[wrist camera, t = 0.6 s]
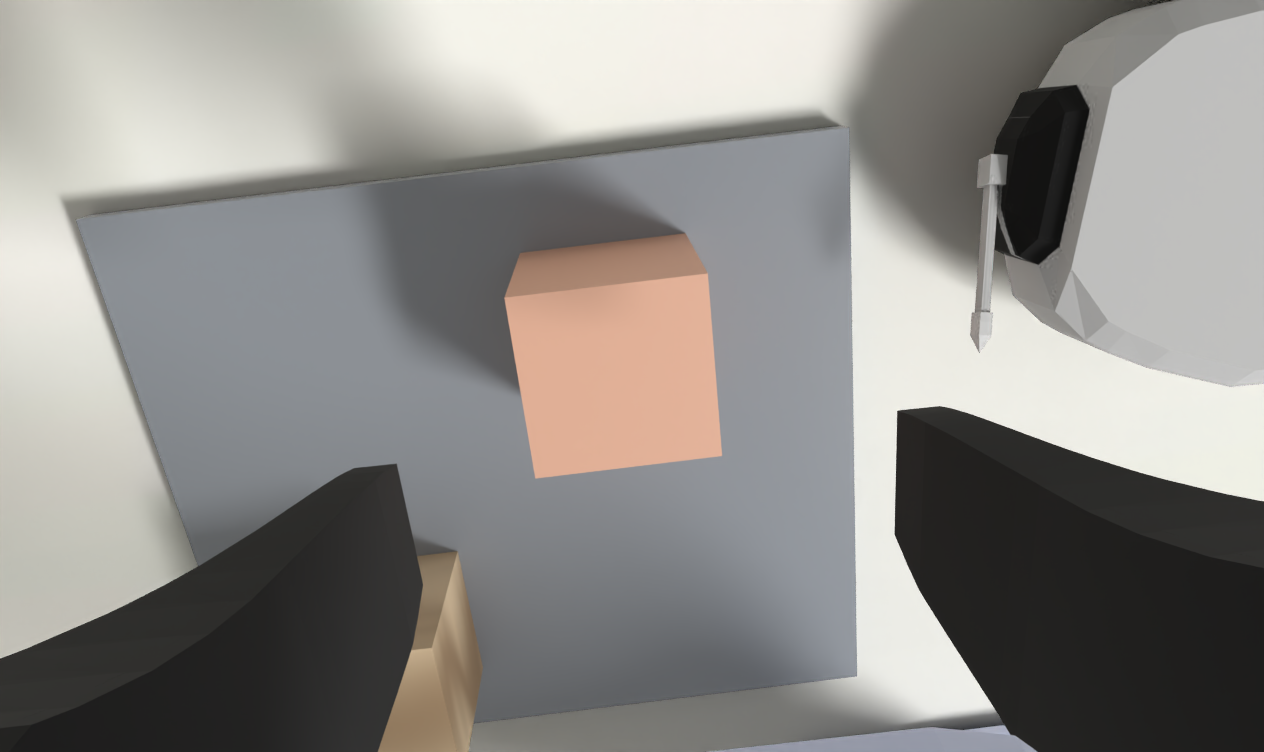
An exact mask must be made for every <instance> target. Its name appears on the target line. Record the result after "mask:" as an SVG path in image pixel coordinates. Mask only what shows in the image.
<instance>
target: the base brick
mask: <svg viewBox="0 0 1264 752" xmlns="http://www.w3.org/2000/svg"><path fill="white" fill-rule="evenodd" d="M504 299H505V304H506V310H507V316H508V322H509V328H510V333H511V339H512V345H513V351H514V357H515V363H516V368H517V374H518V380H519V386H520V392H521V398H522V403H523V409H524V415H525V421H526V427H527V433H528V438H529V444H530V450H531V456H532V462H533V468H534V473H535V479H536V478H544V477H553V476H561V475H569V474H577V473H586V472H594V471H602V470H610V469H619V468H627V467H635V466H643V465H652V464H660V463H668V462H676V461H685V460H693V459H701V458H710V457H718V456H722V448H721V435H720V422H719V409H718V397H717V384H716V371H715V358H714V346H713V333H712V320H711V307H710V295H709V282H708V273H707V271H706V269H705V267H704V266H703V264H702V262H701V260H700V258H699V257H698V255H697V253H696V251H695V249H694V248H693V246H692V244H691V242H690V240H689V239H688V237H687V235H686V233H683V234H675V235H666V236H658V237H650V238H641V239H633V240H624V241H616V242H608V243H599V244H591V245H582V246H574V247H566V248H557V249H549V250H541V251H532V252H524V253H520V255H519V258H518V261H517V263H516V266H515V269H514V272H513V275H512V278H511V280H510V283H509V286H508V289H507V292H506V295H505V297H504Z"/></svg>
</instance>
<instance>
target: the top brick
mask: <svg viewBox="0 0 1264 752" xmlns="http://www.w3.org/2000/svg"><path fill="white" fill-rule="evenodd" d="M417 558H418V563H419V568H420V572H421V577H422V581H423V590H422V596H421V602H420V609H419V615H418V621H417V626H416V631H415V637H414V642H413V646H412V649H411V653H410V656H409V659H408V662H407V665H406V668H405V672H404V675H403V678H402V681H401V684H400V687H399V690H398V693H397V696H396V699H395V702H394V705H393V708H392V711H391V714H390V717H389V720H388V723H387V726H386V729H385V732H384V735H383V738H382V741H381V744H380V747H379V750H378V752H468V751H469V745H470V740H471V734H472V728H473V722H474V717H475V711H476V705H477V699H478V694H479V688H480V682H481V676H482V670H483V665H482V661H481V656H480V652H479V647H478V642H477V638H476V633H475V629H474V624H473V619H472V615H471V610H470V606H469V601H468V596H467V592H466V587H465V583H464V578H463V574H462V569H461V564H460V560H459V555H458V551H455V552H447V553H439V554H431V555H422V556H417Z"/></svg>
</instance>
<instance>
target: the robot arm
mask: <svg viewBox="0 0 1264 752" xmlns="http://www.w3.org/2000/svg"><path fill="white" fill-rule="evenodd" d="M895 536H896V539H897V541H898V543H899V546H900V548H901V550H902V553H903V555H904V558H905V560H906V562H907V565H908V567H909V569H910V571H911V573H912V575H913V578H914V580H915V582H916V584H917V586H918V588H919V590H920V592H921V594H922V595H923V597H924V599H925V600H926V602H927V604H928V605H929V607H930V608H931V610H932V611H933V613H934V615H935V616H936V618H937V619H938V621H939V623H940V624H941V626H942V627H943V629H944V631H945V632H946V634H947V635H948V637H949V638H950V640H951V641H952V643H953V645H954V646H955V648H956V649H957V651H958V652H959V654H960V655H961V657H962V659H963V660H964V662H965V663H966V665H967V666H968V668H969V669H970V671H971V673H972V674H973V676H974V677H975V679H976V680H977V682H978V683H979V685H980V687H981V688H982V690H983V691H984V693H985V694H986V696H987V697H988V699H989V700H990V702H991V704H992V705H993V707H994V708H995V710H996V711H997V713H998V714H999V716H1000V718H1001V720H1002V721H1003V723H1004V725H1000V726H992V727H984V728H976V729H968V730H956V729H946V728H936V727H928V728H918V729H909V730H900V731H890V732H881V733H872V734H863V735H854V736H845V737H836V738H826V739H817V740H808V741H799V742H790V743H781V744H772V745H762V746H753V747H744V748H735V749H726V750H717V751H708V752H1264V502H1263V501H1257V500H1252V499H1247V498H1242V497H1237V496H1232V495H1227V494H1223V493H1218V492H1214V491H1210V490H1206V489H1202V488H1197V487H1193V486H1189V485H1185V484H1181V483H1177V482H1173V481H1168V480H1164V479H1161V478H1157V477H1153V476H1150V475H1146V474H1143V473H1139V472H1136V471H1132V470H1129V469H1126V468H1123V467H1120V466H1116V465H1113V464H1110V463H1107V462H1104V461H1100V460H1097V459H1094V458H1091V457H1088V456H1085V455H1082V454H1079V453H1076V452H1073V451H1070V450H1068V449H1065V448H1062V447H1059V446H1056V445H1053V444H1051V443H1048V442H1045V441H1042V440H1040V439H1037V438H1034V437H1032V436H1029V435H1026V434H1023V433H1021V432H1018V431H1015V430H1013V429H1010V428H1007V427H1005V426H1002V425H999V424H996V423H994V422H991V421H988V420H985V419H983V418H980V417H977V416H974V415H971V414H968V413H965V412H962V411H958V410H955V409H951V408H946V407H941V406H938V407H928V408H919V409H909V410H900V411H897V453H896V498H895ZM422 590H423V581H422V577H421V572H420V568H419V563H418V558H417V554H416V549H415V545H414V540H413V536H412V531H411V526H410V522H409V517H408V513H407V508H406V503H405V499H404V494H403V490H402V485H401V481H400V476H399V471H398V467H397V464H388V465H378V466H369V467H359V468H353V469H351V470H349V471H347V472H345V473H343V474H341V475H339V476H338V477H336V478H334V479H333V480H331V481H329V482H328V483H326V484H325V485H323V486H322V487H320V488H319V489H317V490H316V491H314V492H312V493H311V494H310V495H308V496H307V497H305V498H304V499H302V500H301V501H299V502H298V503H296V504H295V505H293V506H292V507H290V508H289V509H287V510H286V511H284V512H283V513H281V514H280V515H278V516H277V517H275V518H274V519H272V520H271V521H269V522H268V523H266V524H265V525H263V526H262V527H261V528H259V529H257V530H256V531H254V532H253V533H251V534H250V535H248V536H246V537H245V538H243V539H241V540H240V541H238V542H237V543H235V544H233V545H232V546H230V547H229V548H227V549H225V550H224V551H222V552H221V553H219V554H217V555H216V556H214V557H212V558H211V559H209V560H208V561H206V562H204V563H203V564H201V565H200V566H198V567H196V568H195V569H193V570H191V571H189V572H188V573H186V574H184V575H182V576H180V577H179V578H177V579H175V580H173V581H171V582H169V583H168V584H166V585H164V586H162V587H160V588H158V589H156V590H154V591H152V592H150V593H148V594H146V595H145V596H143V597H141V598H139V599H137V600H135V601H133V602H131V603H129V604H127V605H125V606H123V607H121V608H119V609H117V610H114V611H112V612H110V613H108V614H106V615H104V616H101V617H99V618H97V619H94V620H92V621H90V622H87V623H85V624H83V625H81V626H78V627H76V628H74V629H71V630H69V631H67V632H64V633H62V634H60V635H57V636H55V637H53V638H50V639H48V640H46V641H43V642H41V643H39V644H37V645H34V646H32V647H30V648H27V649H25V650H22V651H19V652H17V653H14V654H12V655H9V656H6V657H4V658H1V659H0V752H378V750H379V747H380V744H381V741H382V738H383V735H384V732H385V729H386V726H387V723H388V720H389V717H390V714H391V711H392V708H393V705H394V702H395V699H396V696H397V693H398V690H399V687H400V684H401V681H402V678H403V675H404V672H405V668H406V665H407V662H408V659H409V656H410V653H411V649H412V646H413V642H414V637H415V631H416V626H417V621H418V615H419V609H420V602H421V596H422Z"/></svg>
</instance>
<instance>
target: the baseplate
mask: <svg viewBox="0 0 1264 752" xmlns="http://www.w3.org/2000/svg"><path fill="white" fill-rule="evenodd" d="M76 222H77V225H78V227H79V230H80V233H81V236H82V239H83V242H84V244H85V247H86V250H87V253H88V256H89V258H90V261H91V264H92V267H93V270H94V273H95V275H96V278H97V281H98V284H99V287H100V290H101V292H102V295H103V298H104V301H105V304H106V307H107V309H108V312H109V315H110V318H111V321H112V324H113V326H114V329H115V332H116V335H117V338H118V341H119V343H120V346H121V349H122V352H123V355H124V358H125V360H126V363H127V366H128V369H129V372H130V375H131V377H132V380H133V383H134V386H135V389H136V391H137V394H138V397H139V400H140V403H141V406H142V408H143V411H144V414H145V417H146V420H147V423H148V425H149V428H150V431H151V434H152V437H153V440H154V442H155V445H156V448H157V451H158V454H159V457H160V459H161V462H162V465H163V468H164V471H165V474H166V476H167V479H168V482H169V485H170V488H171V491H172V493H173V496H174V499H175V502H176V505H177V508H178V510H179V513H180V516H181V519H182V522H183V524H184V527H185V530H186V533H187V536H188V539H189V541H190V544H191V547H192V550H193V553H194V556H195V558H196V561H197V564H198V566H200V565H201V564H203V563H204V562H206V561H208V560H209V559H211V558H212V557H214V556H216V555H217V554H219V553H221V552H222V551H224V550H225V549H227V548H229V547H230V546H232V545H233V544H235V543H237V542H238V541H240V540H241V539H243V538H245V537H246V536H248V535H250V534H251V533H253V532H254V531H256V530H257V529H259V528H261V527H262V526H263V525H265V524H266V523H268V522H269V521H271V520H272V519H274V518H275V517H277V516H278V515H280V514H281V513H283V512H284V511H286V510H287V509H289V508H290V507H292V506H293V505H295V504H296V503H298V502H299V501H301V500H302V499H304V498H305V497H307V496H308V495H310V494H311V493H312V492H314V491H316V490H317V489H319V488H320V487H322V486H323V485H325V484H326V483H328V482H329V481H331V480H333V479H334V478H336V477H338V476H339V475H341V474H343V473H345V472H347V471H349V470H351V469H353V468H359V467H369V466H378V465H388V464H397V467H398V471H399V476H400V481H401V485H402V490H403V494H404V499H405V503H406V508H407V513H408V517H409V522H410V526H411V531H412V536H413V540H414V545H415V549H416V554H417V556H422V555H431V554H439V553H447V552H455V551H458V555H459V560H460V564H461V569H462V574H463V578H464V583H465V587H466V592H467V596H468V601H469V606H470V610H471V615H472V619H473V624H474V629H475V633H476V638H477V642H478V647H479V652H480V656H481V661H482V665H483V670H482V676H481V682H480V688H479V694H478V699H477V705H476V711H475V717H474V722H473V723H480V722H488V721H497V720H505V719H513V718H521V717H529V716H537V715H545V714H554V713H562V712H570V711H578V710H586V709H594V708H602V707H611V706H619V705H627V704H635V703H643V702H651V701H659V700H668V699H676V698H684V697H692V696H700V695H708V694H716V693H725V692H733V691H741V690H749V689H757V688H765V687H773V686H782V685H790V684H798V683H806V682H814V681H822V680H830V679H839V678H847V677H855V676H857V644H856V573H855V502H854V432H853V361H852V290H851V219H850V148H849V127H845V126H835V127H826V128H818V129H809V130H801V131H792V132H784V133H775V134H767V135H759V136H750V137H742V138H733V139H725V140H716V141H708V142H700V143H691V144H683V145H674V146H666V147H657V148H649V149H641V150H632V151H624V152H615V153H607V154H598V155H590V156H582V157H573V158H565V159H556V160H548V161H539V162H531V163H523V164H514V165H506V166H497V167H489V168H480V169H472V170H464V171H455V172H447V173H438V174H430V175H421V176H413V177H405V178H396V179H388V180H379V181H371V182H362V183H354V184H346V185H337V186H329V187H320V188H312V189H303V190H295V191H287V192H278V193H270V194H261V195H253V196H244V197H236V198H228V199H219V200H211V201H202V202H194V203H185V204H177V205H169V206H160V207H152V208H143V209H135V210H126V211H118V212H110V213H101V214H93V215H88V216H85V217H82V218H78V219H76ZM683 233H686V235H687V237H688V239H689V240H690V242H691V244H692V246H693V248H694V249H695V251H696V253H697V255H698V257H699V258H700V260H701V262H702V264H703V266H704V267H705V269H706V271H707V273H708V282H709V295H710V307H711V320H712V333H713V346H714V358H715V371H716V384H717V397H718V409H719V422H720V435H721V448H722V456H718V457H710V458H701V459H693V460H685V461H676V462H668V463H660V464H652V465H643V466H635V467H627V468H619V469H610V470H602V471H594V472H586V473H577V474H569V475H561V476H553V477H544V478H536V479H535V473H534V468H533V462H532V456H531V450H530V444H529V438H528V433H527V427H526V421H525V415H524V409H523V403H522V398H521V392H520V386H519V380H518V374H517V368H516V363H515V357H514V351H513V345H512V339H511V333H510V328H509V322H508V316H507V310H506V304H505V299H504V297H505V295H506V292H507V289H508V286H509V283H510V280H511V278H512V275H513V272H514V269H515V266H516V263H517V261H518V258H519V255H520V253H524V252H532V251H541V250H549V249H557V248H566V247H574V246H582V245H591V244H599V243H608V242H616V241H624V240H633V239H641V238H650V237H658V236H666V235H675V234H683Z"/></svg>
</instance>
